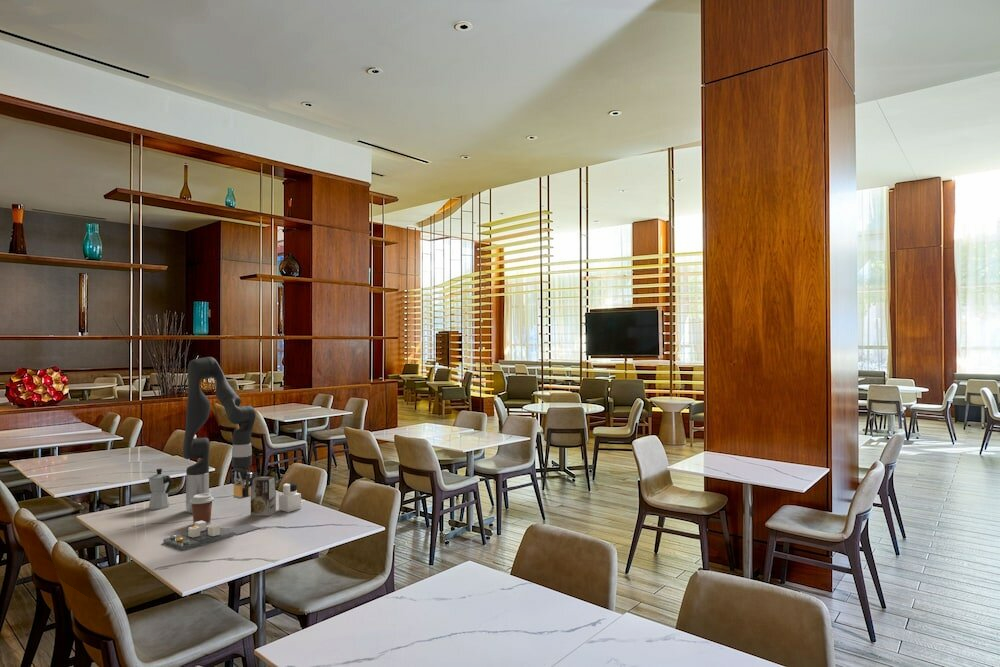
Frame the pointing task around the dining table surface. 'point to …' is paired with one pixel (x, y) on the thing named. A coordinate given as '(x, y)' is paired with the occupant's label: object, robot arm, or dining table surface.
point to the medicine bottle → (289, 498)
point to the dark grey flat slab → (196, 539)
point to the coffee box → (263, 496)
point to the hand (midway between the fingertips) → (241, 495)
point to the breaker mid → (194, 531)
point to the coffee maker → (159, 490)
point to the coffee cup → (202, 507)
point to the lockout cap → (239, 491)
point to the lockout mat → (243, 529)
